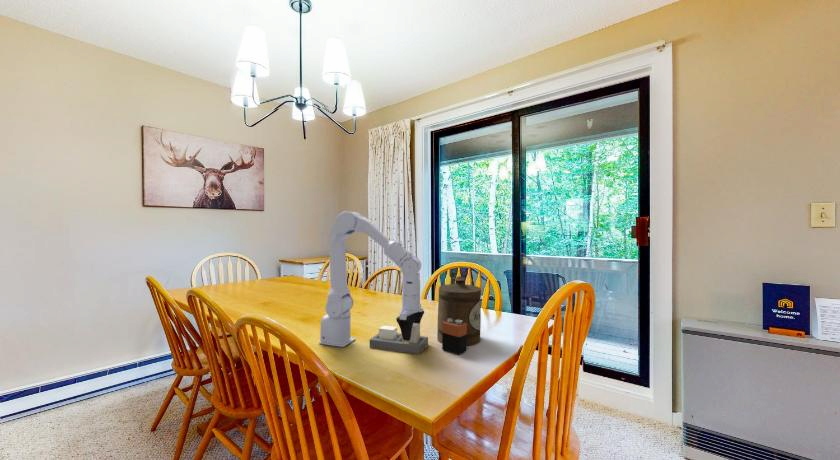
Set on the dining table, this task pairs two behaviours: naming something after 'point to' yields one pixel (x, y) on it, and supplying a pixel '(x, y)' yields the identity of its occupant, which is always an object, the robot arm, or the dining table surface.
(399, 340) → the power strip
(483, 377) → the dining table surface
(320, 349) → the dining table surface
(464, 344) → the battery
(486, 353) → the dining table surface
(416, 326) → the plug
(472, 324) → the wooden container
